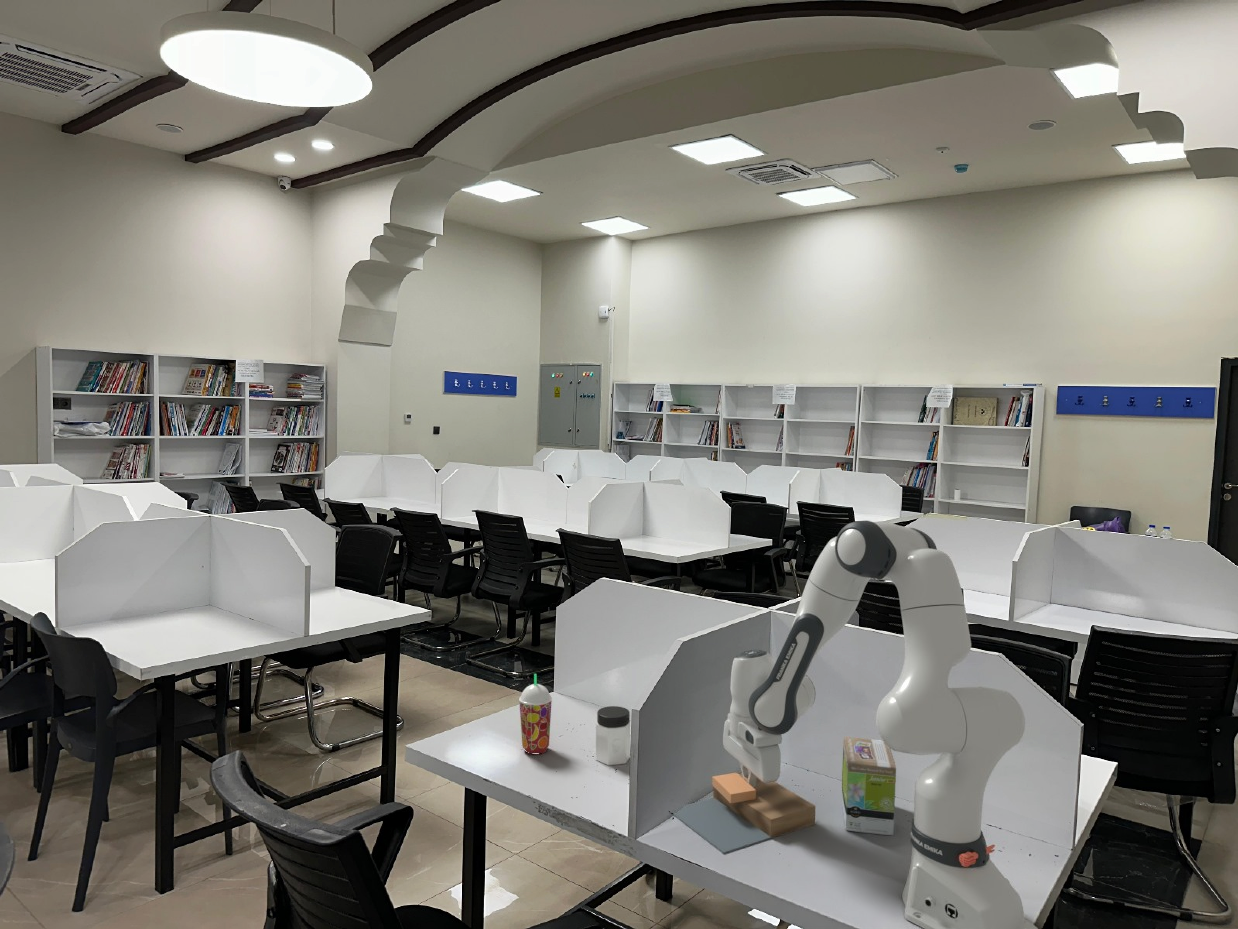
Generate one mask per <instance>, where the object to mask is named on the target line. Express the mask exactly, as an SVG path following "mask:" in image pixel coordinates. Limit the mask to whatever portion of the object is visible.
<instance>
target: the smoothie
mask: <svg viewBox="0 0 1238 929" xmlns="http://www.w3.org/2000/svg"><path fill="white" fill-rule="evenodd" d="M537 677H538V676H537V673H533V678H534V679H533V683H532V684H530V685H528V686H526V687H525V688H524V689H523V691H522V692H521V695H520V696H519V698H518V701H519V714H520V727H521V728H520V730H521V742H522V743H521V744H522V748H523V749H525V750H526V751H527V752H529V753H542V754H544V753H545V751H546V750H547V751H548V748H549V746H550V735H551V734H550V733H551V718H552V702H553V701H552V700H553V697H552V695H551V694H550V691H549V690H548V688H547V687H546V686H544V685H542V684H539V683H537V681H538V680H537V679H538V678H537ZM525 750H524V751H525ZM547 751H546V752H547Z"/></svg>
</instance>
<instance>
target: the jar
mask: <svg viewBox="0 0 1238 929" xmlns="http://www.w3.org/2000/svg"><path fill="white" fill-rule="evenodd" d="M596 715H597V716H596V717H597V718H596V720H597V722H596V723H595V760H596V761H598V762H600V763H602V764H605V765H606V766H613V765H614V766H615V765H623V764H624V765H625V764H626V763H627V762H628V761H629V760H630V758H631V756H630V721H631V720H630V719H631V718H630V710H629V709H628V708H625V707H623V706H619V705H618V706H617V705H615V706H614V705H612V706H611V705H610V706H605V707H602V708H601V707H600V708H599V709H598V710H597V712H596Z"/></svg>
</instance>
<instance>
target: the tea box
mask: <svg viewBox="0 0 1238 929" xmlns="http://www.w3.org/2000/svg"><path fill="white" fill-rule="evenodd" d="M842 746H843V748H842V772H841V773H842V774H841V775H842V777H841V803H842V810H843V811H842V812H843V820H844V827H845V831H850V832H858V833H863V834H865V833H866V834H873V835H874V834H875V835H883V836H893V835H894V832H895V831H894V826H895V802H896V782H897V767H896V762H895V760H894V759H895V758H894V756H893V753H892V749H890V748H889V747H888V746H887V745H886V743H885V742H884V741H883V739H882V740H881V739H873V738H872V739H871V738H870V739H869V738H862V737H861V738H860V737H848V736H844V737H843V745H842Z"/></svg>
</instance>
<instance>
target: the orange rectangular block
mask: <svg viewBox="0 0 1238 929" xmlns="http://www.w3.org/2000/svg"><path fill="white" fill-rule="evenodd" d="M739 774H740V773H738V772H732V773H727V774H726V773H725V774H720V775H714V776H712V777H711V786H712V787H713V786H714V787H715V788H716V789H717V790H718V791H719V792H720V793H721V794H722V795H723V796H724V797H725V798H726V799H727V800H728V801H729V802H730V803H736V802H742V801H747V800H753V799H756V790H755V789H754V788H753V787H752V786H751V785H750V784H749V783H747V782H746V781H745V780H744V779H743V778H742V777H741V776H740V775H739Z"/></svg>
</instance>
